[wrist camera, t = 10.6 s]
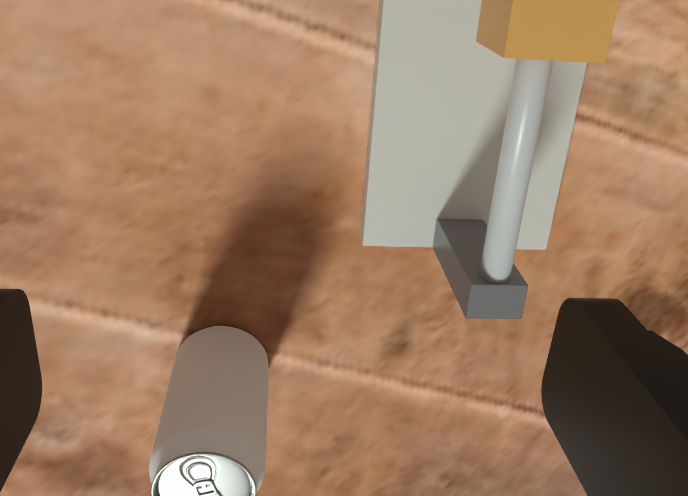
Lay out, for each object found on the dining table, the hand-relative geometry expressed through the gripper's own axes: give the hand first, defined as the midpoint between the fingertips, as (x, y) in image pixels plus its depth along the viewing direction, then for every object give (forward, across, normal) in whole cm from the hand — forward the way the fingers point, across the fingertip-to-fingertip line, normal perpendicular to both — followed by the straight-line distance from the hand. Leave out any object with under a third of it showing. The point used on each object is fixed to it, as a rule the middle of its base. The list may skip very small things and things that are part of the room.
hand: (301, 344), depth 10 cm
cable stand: (+30, -11, -1) cm, 32 cm away
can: (+30, +4, +22) cm, 38 cm away
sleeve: (+23, -11, -4) cm, 26 cm away
